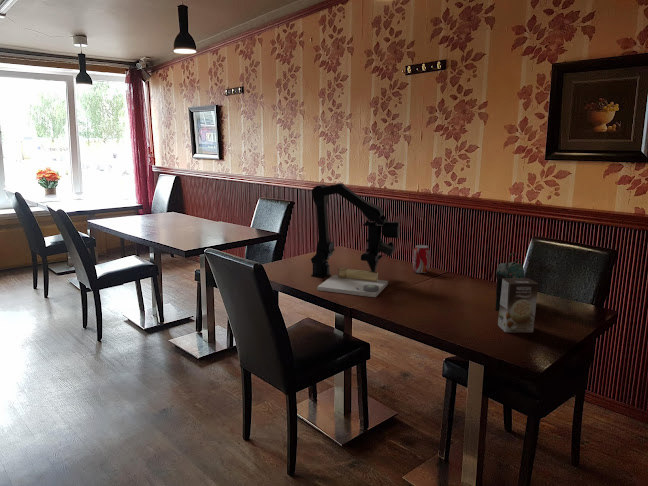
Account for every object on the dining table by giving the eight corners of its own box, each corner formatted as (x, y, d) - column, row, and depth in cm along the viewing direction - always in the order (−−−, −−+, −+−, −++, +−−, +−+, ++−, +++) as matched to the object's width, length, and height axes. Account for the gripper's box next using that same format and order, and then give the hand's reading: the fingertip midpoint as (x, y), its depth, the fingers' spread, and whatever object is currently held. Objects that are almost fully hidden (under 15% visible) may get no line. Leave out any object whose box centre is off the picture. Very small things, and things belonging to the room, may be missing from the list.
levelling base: (317, 290, 195) (317, 282, 194) (333, 278, 211) (333, 271, 210) (375, 297, 186) (375, 289, 185) (387, 284, 202) (387, 277, 201)
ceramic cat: (506, 314, 168) (511, 258, 164) (488, 310, 172) (492, 255, 168) (526, 300, 183) (531, 248, 179) (509, 296, 187) (513, 245, 183)
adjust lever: (336, 277, 206) (336, 269, 205) (340, 275, 209) (340, 267, 209) (375, 282, 200) (376, 273, 199) (378, 279, 203) (378, 271, 202)
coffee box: (505, 333, 152) (509, 283, 149) (497, 325, 159) (501, 277, 155) (534, 332, 153) (538, 283, 149) (525, 324, 159) (529, 277, 155)
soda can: (424, 275, 216) (425, 248, 213) (410, 272, 220) (411, 246, 217) (431, 271, 221) (432, 245, 219) (417, 269, 225) (418, 243, 223)
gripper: (387, 242, 192) (386, 280, 195) (398, 234, 209) (397, 269, 212) (360, 240, 196) (360, 277, 199) (373, 232, 213) (372, 266, 216)
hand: (373, 272), depth 207 cm, fingers closed
